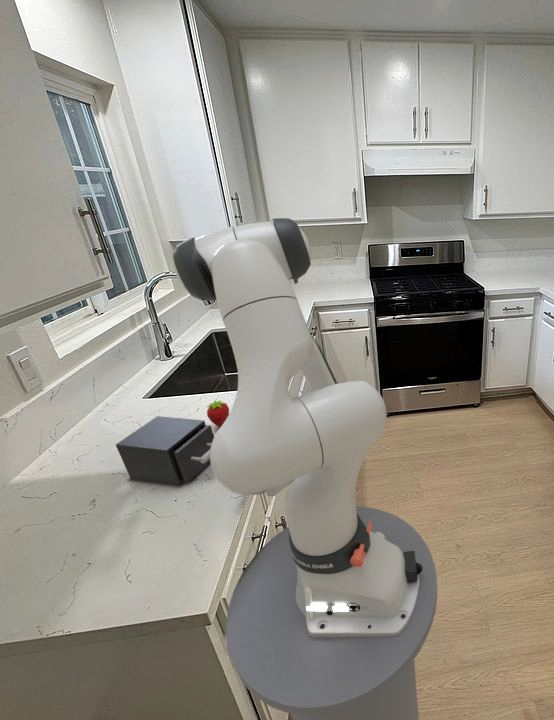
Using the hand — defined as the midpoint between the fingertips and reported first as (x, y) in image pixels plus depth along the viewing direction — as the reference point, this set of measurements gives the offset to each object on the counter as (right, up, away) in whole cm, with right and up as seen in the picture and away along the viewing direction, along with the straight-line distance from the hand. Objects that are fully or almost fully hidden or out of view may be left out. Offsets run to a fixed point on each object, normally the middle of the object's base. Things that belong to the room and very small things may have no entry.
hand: (237, 455), depth 94 cm
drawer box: (-20, -4, +7) cm, 21 cm away
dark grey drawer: (-15, -4, +5) cm, 16 cm away
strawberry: (-15, +3, +23) cm, 27 cm away
